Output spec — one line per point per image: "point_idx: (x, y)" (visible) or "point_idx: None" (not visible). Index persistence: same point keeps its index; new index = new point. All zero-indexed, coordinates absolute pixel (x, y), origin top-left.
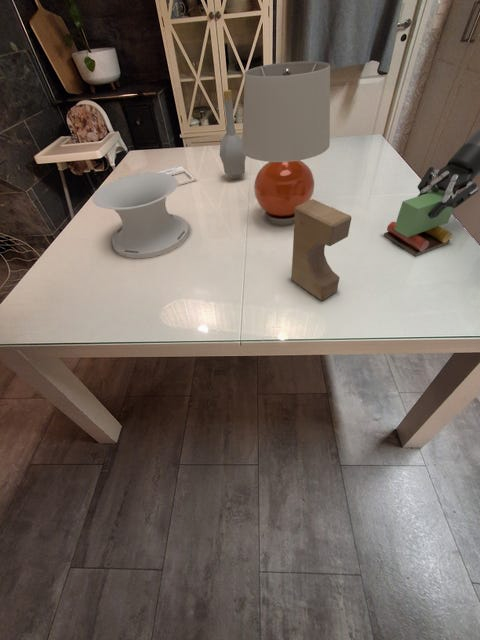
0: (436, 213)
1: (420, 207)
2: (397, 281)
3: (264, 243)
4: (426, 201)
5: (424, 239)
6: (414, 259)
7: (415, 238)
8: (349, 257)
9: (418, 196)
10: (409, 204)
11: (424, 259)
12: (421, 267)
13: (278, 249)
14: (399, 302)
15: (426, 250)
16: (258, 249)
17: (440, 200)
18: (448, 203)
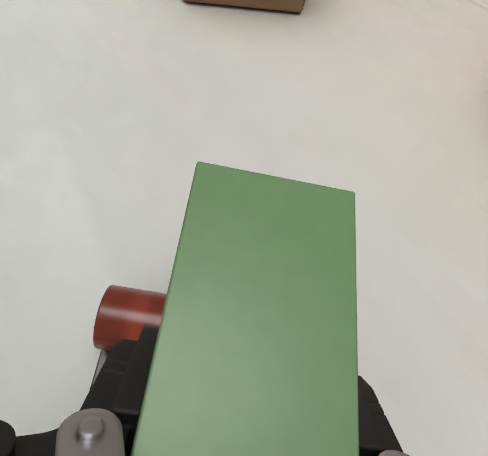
0: (109, 354)
1: (199, 190)
2: (84, 123)
3: (475, 35)
4: (235, 320)
5: (117, 318)
6: (112, 271)
7: (162, 299)
8: (284, 124)
9: (352, 359)
10: (287, 181)
11: (78, 303)
12: (58, 244)
13: (430, 37)
14: (24, 56)
15: (101, 356)
16: (453, 12)
17: (147, 452)
18: (33, 437)
